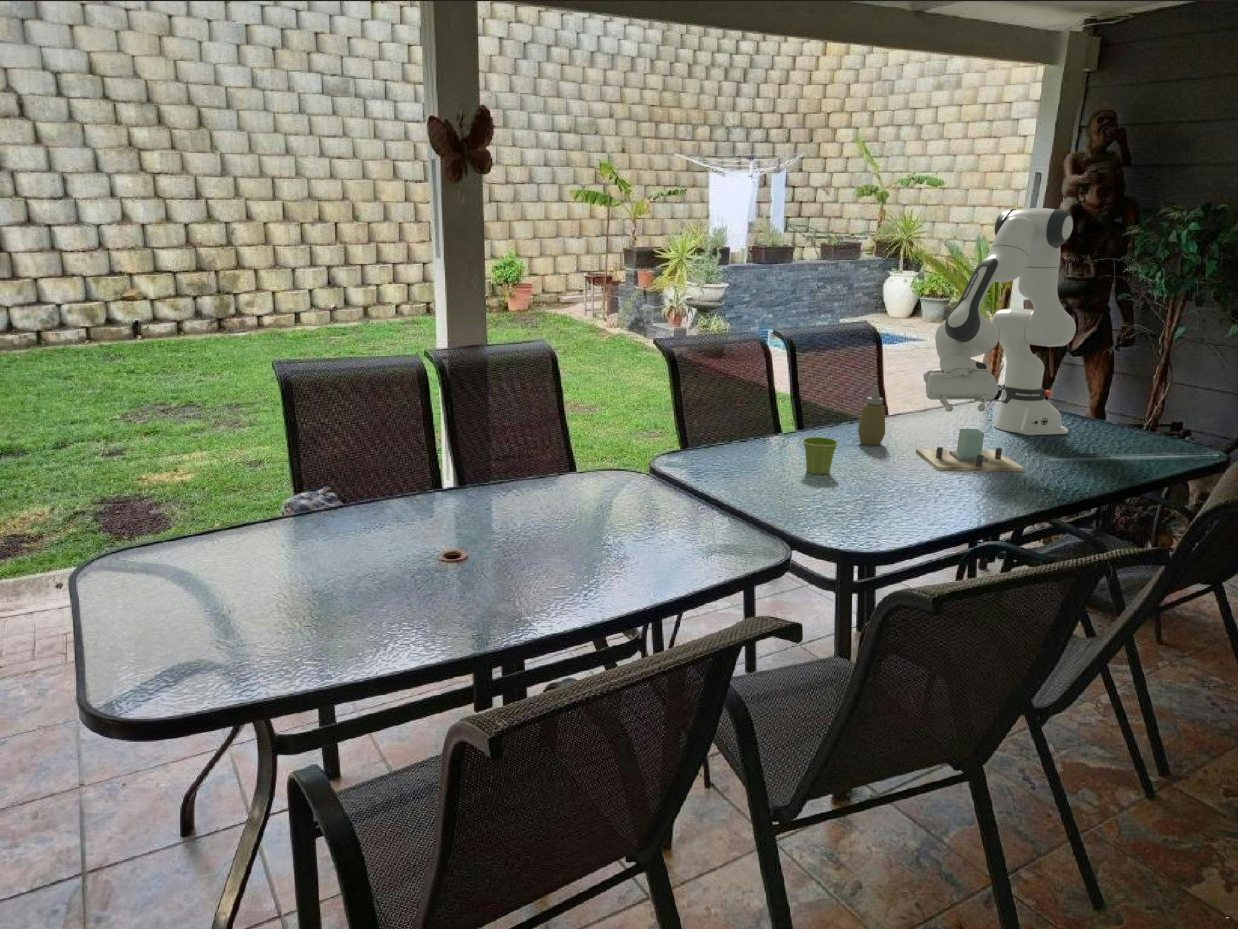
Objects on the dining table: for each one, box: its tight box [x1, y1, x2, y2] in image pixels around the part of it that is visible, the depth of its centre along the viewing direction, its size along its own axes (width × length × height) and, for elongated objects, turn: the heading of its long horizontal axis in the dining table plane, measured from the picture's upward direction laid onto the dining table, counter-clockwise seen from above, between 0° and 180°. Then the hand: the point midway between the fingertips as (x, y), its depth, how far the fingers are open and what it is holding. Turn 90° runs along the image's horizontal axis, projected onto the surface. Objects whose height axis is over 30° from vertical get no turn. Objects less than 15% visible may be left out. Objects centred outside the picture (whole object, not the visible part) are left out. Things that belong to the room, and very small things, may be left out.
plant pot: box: [802, 436, 839, 476], centre depth 235 cm, size 9×9×9 cm
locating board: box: [915, 446, 1025, 472], centre depth 247 cm, size 24×18×4 cm
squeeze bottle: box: [857, 385, 886, 447], centre depth 262 cm, size 8×8×18 cm
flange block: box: [949, 428, 988, 462], centre depth 246 cm, size 8×8×8 cm
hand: (965, 410), depth 250 cm, fingers open, 8 cm apart
